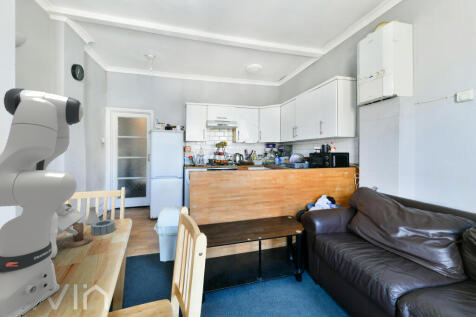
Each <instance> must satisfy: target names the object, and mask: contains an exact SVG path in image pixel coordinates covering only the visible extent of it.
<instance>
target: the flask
mask: <svg viewBox="0 0 476 317" xmlns="http://www.w3.org/2000/svg"><path fill="white" fill-rule="evenodd" d="M96 208H97V206H91V207H89V213H88V216H87V218H86V221H85V225H87V226H91V224H92V223H94V222H97V221H101V220H100V218H99V216H98V214H97V210H96Z"/></svg>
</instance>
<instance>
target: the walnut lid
mask: <svg viewBox="0 0 476 317" xmlns="http://www.w3.org/2000/svg"><path fill="white" fill-rule="evenodd" d="M84 226H85V225H84V222H80V223H76V224H73V226H72V229H74V230H78V231H79V233H78V234H76V235H73V234H72V237H71V238H68V239H66V240H65V241H63V247H64V248H67V249H75V248H79V247H83V246H86V245H88V244H90V243H91V242H92V241H93V236H92V235H84V234H85V233H84V231H85V230H84V229H85V227H84Z"/></svg>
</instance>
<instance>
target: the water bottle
mask: <svg viewBox="0 0 476 317" xmlns="http://www.w3.org/2000/svg"><path fill="white" fill-rule="evenodd" d="M57 233H58V215H57V213H56V212H55V213H54V215H53V217H52V220H51V226H50V242H51V244H52V253H51V255H50V256H51V259H54V258H55V257H56V256H57V254H58V245H57V237H58V236H57Z"/></svg>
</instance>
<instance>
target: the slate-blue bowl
mask: <svg viewBox="0 0 476 317" xmlns="http://www.w3.org/2000/svg"><path fill="white" fill-rule="evenodd" d="M115 230H116V220H114V219H103V220H100V221H97V222H94V223H92V224H91V225H90V234H91V236H92V235H93V236H104V235H107V234H111V233H113V232H114V231H115ZM110 232H111V233H110ZM103 234H104V235H103Z"/></svg>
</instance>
